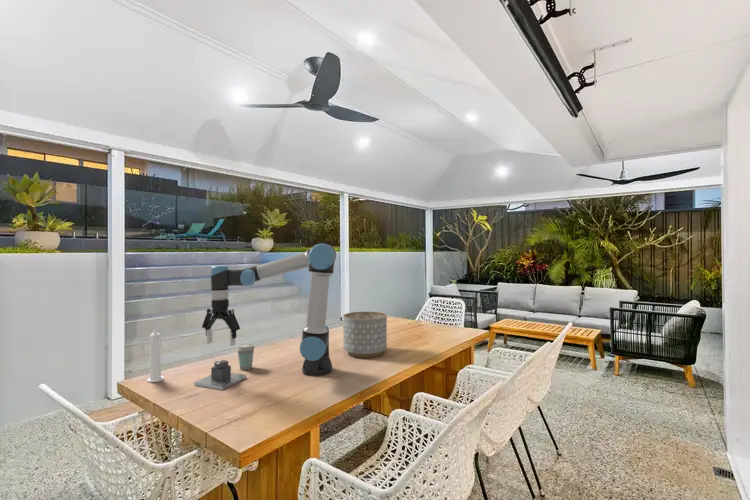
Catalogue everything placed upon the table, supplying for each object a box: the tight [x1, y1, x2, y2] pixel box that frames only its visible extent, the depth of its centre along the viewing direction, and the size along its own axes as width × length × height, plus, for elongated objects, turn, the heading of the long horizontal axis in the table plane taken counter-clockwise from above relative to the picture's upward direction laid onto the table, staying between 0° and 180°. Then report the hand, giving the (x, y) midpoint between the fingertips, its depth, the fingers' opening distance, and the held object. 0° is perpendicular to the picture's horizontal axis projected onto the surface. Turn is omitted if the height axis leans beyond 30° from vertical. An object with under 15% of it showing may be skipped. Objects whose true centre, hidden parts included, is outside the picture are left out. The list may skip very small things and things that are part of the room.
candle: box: [146, 327, 165, 383], centre depth 186 cm, size 7×7×25 cm
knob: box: [210, 359, 232, 381], centre depth 183 cm, size 6×6×8 cm
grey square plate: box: [193, 372, 247, 391], centre depth 183 cm, size 16×16×6 cm
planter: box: [342, 311, 388, 359], centre depth 230 cm, size 26×26×22 cm
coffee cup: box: [236, 343, 255, 371], centre depth 203 cm, size 8×8×12 cm
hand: (221, 344), depth 183 cm, fingers open, 13 cm apart
